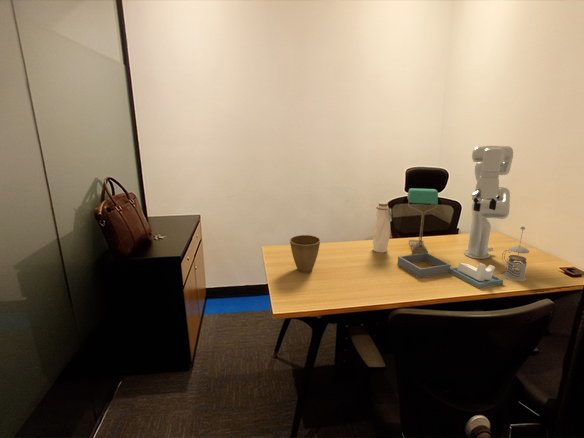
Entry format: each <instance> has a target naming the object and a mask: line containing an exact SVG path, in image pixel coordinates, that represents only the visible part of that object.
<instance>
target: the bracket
mask: <svg viewBox="0 0 584 438" xmlns="http://www.w3.org/2000/svg"><path fill="white" fill-rule="evenodd" d="M472 265H473V264H468V263H464V262H463V263H462V262H459V263H458V266H457V267H458V268H457V270H459V271H461V272H463V273H465V274H467V275H468V276H470V277H472V278H474V279H476V280H478V281H484V280H491V277H492V275H494V272H495V270H496V266H494V265H491V264H488V266H487V267H486V265H485V264H483V263H480V262H479V264H478V265H477V266H475V267H474V265H473V266H472ZM476 267H477V268H476Z"/></svg>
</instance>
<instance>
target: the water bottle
mask: <svg viewBox="0 0 584 438" xmlns="http://www.w3.org/2000/svg"><path fill="white" fill-rule="evenodd" d="M375 209H376V222H375V232H374V233H373V234H374V235H373V237H372V245H373V247H372V250H373V251H374V252H377V253H386V252H387V250H388V247H389V241H390V237H391V222H392V221H393V216H392V215H393V214H392V208H390V207H389V204H388V202H385V201H384V202H383V201H381V202H378V205H377V206H376V207H375Z"/></svg>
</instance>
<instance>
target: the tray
mask: <svg viewBox="0 0 584 438" xmlns="http://www.w3.org/2000/svg"><path fill="white" fill-rule="evenodd" d="M471 265H472V266H474V265H473V264H471ZM474 267H476V268H478V266H474ZM457 268H458V266H455V267H450V273H449V274H451V275H453V276H454V277H457V278H458V279H461V280H462V281H464V282H466V283H468V284H470V285H472V286H474V287H476V288H478V289H484V288H489V287H494V286H499V285H503V284H504V279H503V278H501V277H498V276H496V275H494V274H493V275H492V277H491V280H484V281H478V280H476V279H474V278H472V277H470V276H468V275H467V274H465V273H463V272H461V271H459V270H457Z"/></svg>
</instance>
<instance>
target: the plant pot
mask: <svg viewBox="0 0 584 438" xmlns="http://www.w3.org/2000/svg"><path fill="white" fill-rule="evenodd" d="M289 243H290V249H291V253H292V259H293V261H294V263H295V267H296V269H297V271H299V272H300V273H310V272H312V271H313V269H314V266H315V264H316V261H317V258H318V254H319V250H320V244H321V239H320V238H319V237H318V236H316V235H309V234H300V235H295V236H293V237H291V238H290V239H289Z"/></svg>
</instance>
